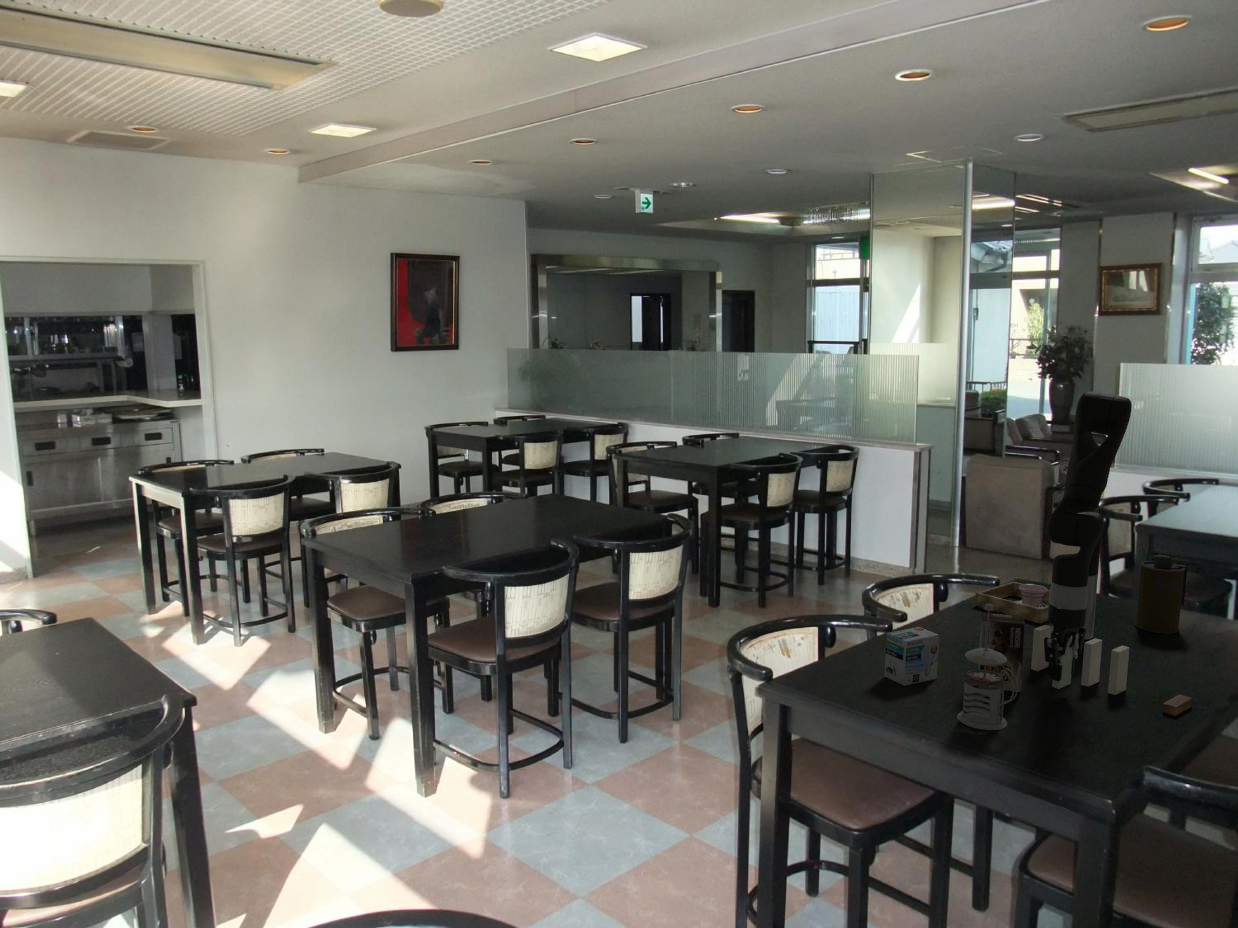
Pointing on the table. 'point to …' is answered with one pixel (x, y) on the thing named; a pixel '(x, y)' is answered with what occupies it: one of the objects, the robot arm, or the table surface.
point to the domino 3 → (1118, 670)
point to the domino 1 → (1039, 647)
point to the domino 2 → (1091, 662)
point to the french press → (985, 689)
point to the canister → (1161, 595)
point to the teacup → (1032, 595)
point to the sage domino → (1065, 670)
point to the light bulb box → (911, 656)
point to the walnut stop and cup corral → (1041, 616)
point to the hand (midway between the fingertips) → (1061, 676)
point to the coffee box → (1004, 646)
